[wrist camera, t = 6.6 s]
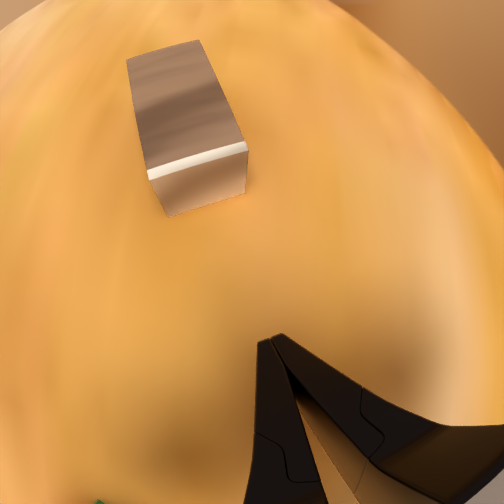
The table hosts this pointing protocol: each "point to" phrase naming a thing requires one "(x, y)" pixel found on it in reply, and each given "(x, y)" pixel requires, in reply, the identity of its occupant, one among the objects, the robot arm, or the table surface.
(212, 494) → the table surface
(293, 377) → the robot arm
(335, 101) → the table surface
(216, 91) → the walnut block
